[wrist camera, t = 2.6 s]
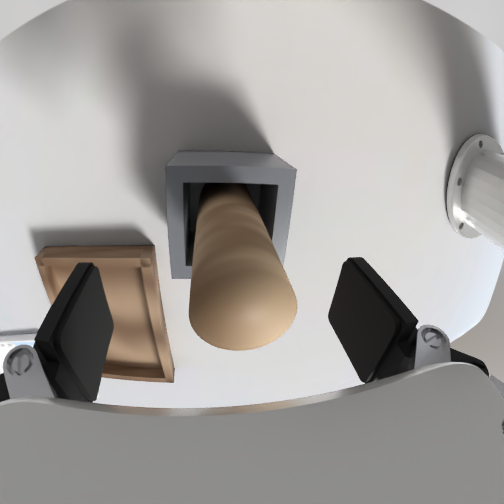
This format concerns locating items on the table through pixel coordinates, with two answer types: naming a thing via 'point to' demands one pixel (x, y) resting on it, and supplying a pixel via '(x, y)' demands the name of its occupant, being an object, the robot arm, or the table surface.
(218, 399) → the table surface
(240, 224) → the dowel
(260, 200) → the pen cup
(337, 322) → the robot arm
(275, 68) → the table surface
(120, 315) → the tray
